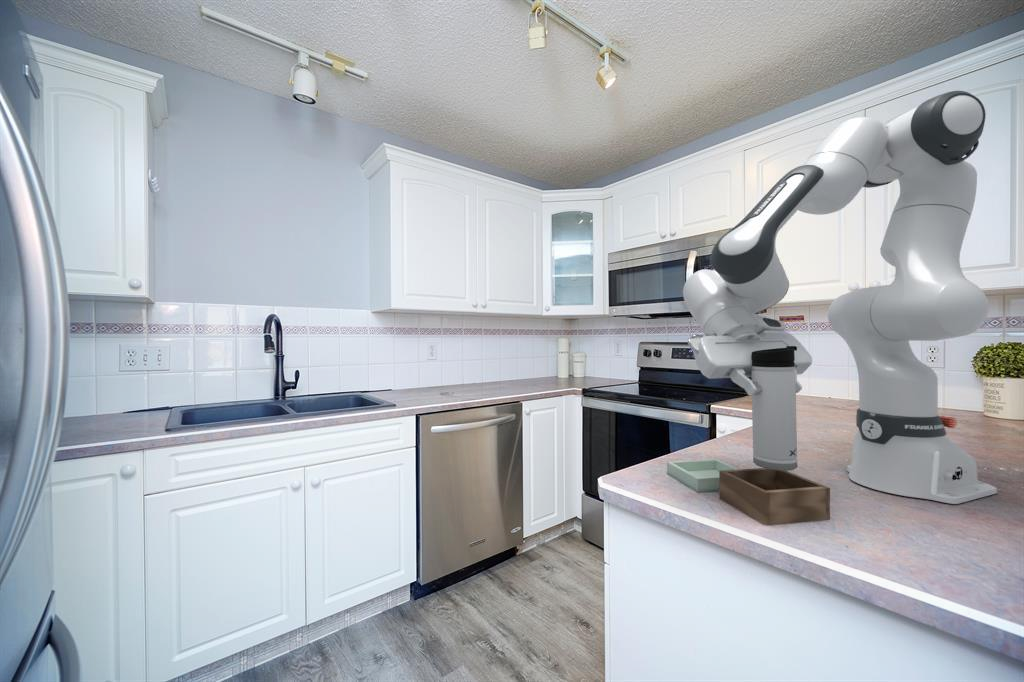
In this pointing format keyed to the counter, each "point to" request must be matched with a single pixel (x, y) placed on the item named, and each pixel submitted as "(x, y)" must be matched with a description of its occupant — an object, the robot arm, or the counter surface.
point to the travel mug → (774, 409)
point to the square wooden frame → (774, 495)
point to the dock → (698, 473)
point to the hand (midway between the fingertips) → (776, 392)
